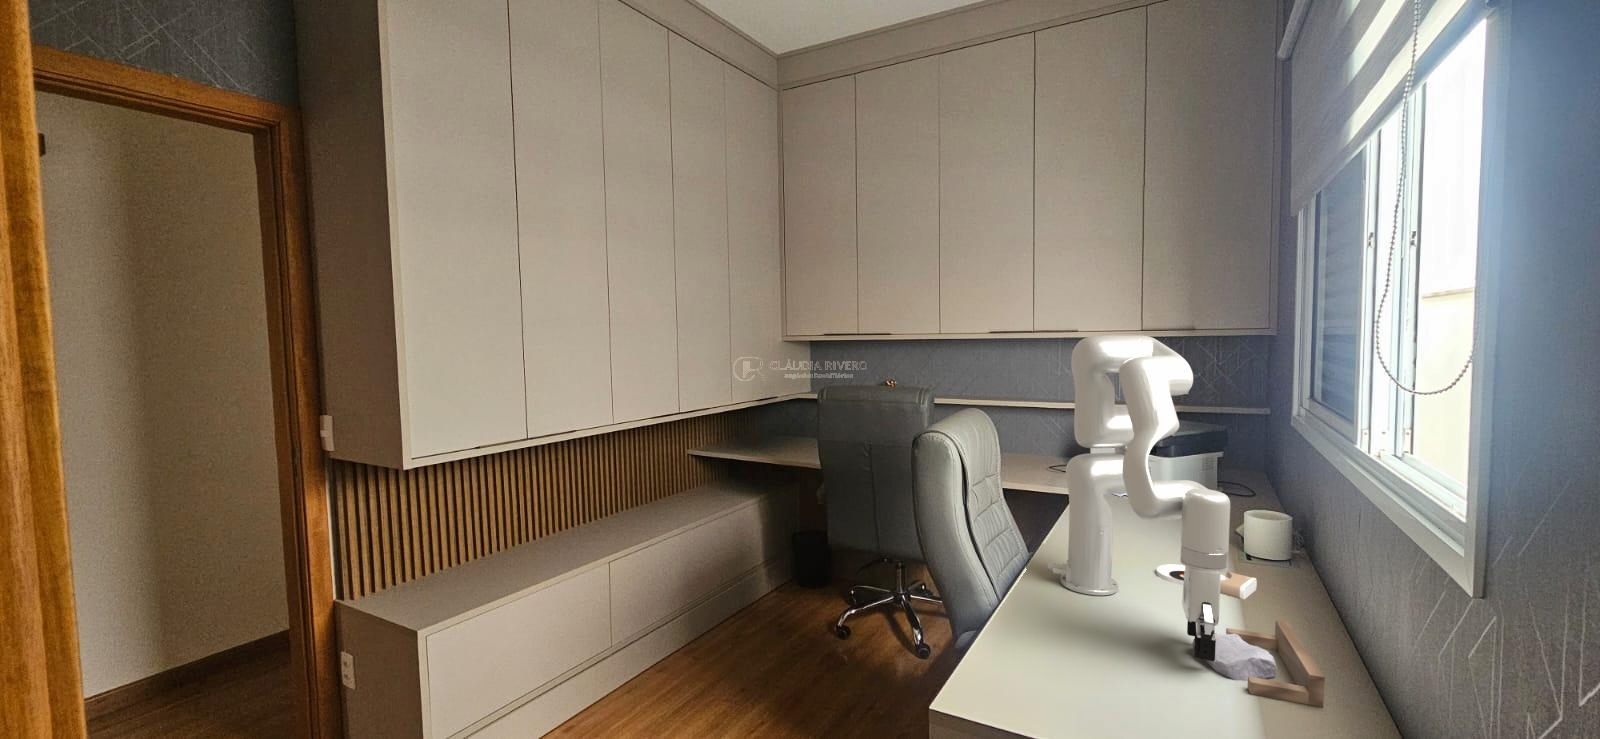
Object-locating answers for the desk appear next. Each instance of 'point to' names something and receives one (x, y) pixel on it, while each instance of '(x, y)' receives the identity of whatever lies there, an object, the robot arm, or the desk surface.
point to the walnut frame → (1295, 661)
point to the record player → (1229, 583)
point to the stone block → (1241, 659)
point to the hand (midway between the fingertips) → (1200, 647)
